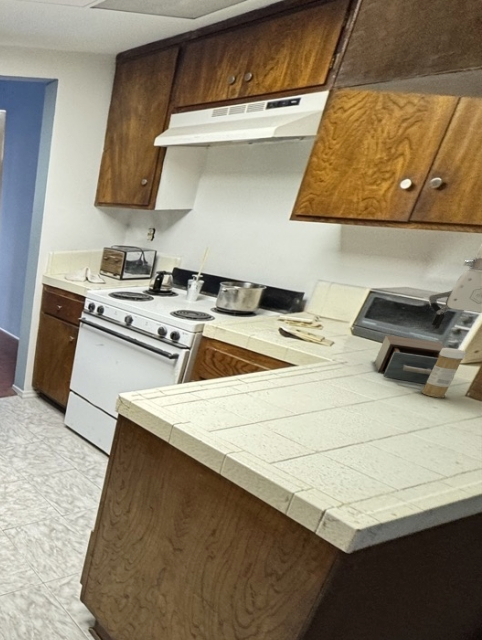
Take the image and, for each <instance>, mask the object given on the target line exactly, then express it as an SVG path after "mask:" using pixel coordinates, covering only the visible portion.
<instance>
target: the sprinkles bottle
mask: <svg viewBox="0 0 482 640" xmlns="http://www.w3.org/2000/svg"><path fill="white" fill-rule="evenodd" d="M466 354H467V351H465V350H462V349H458V348H452V347H445V348H442V349H441V351H440V353H439V358H438V360H437V362H436V364H435V366H434V368H433V370H432V372H431V374H430V376H429V378H428V380H427V383H426V384H425V385H424V388H423V390H422V391H421V393H422V394H423V395H425V396H427V397H428V396H429V397H432V398H444V397H445V396H446V393H447V391H448V389H449V388H450V386H451V384H452V382H453V379H454V377H455V375H456V373H457V371H458V369H459V367H460V364H461V363H462V361H463V360H464V358H465V357H466Z"/></svg>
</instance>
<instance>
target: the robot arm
mask: <svg viewBox="0 0 482 640" xmlns="http://www.w3.org/2000/svg"><path fill="white" fill-rule="evenodd" d="M462 265H463V266H466V267H469V269H465V270H464V271H463V272H462V273H461V275H460V276H459V277H458V279H457V280H456V282H455V283H454V285H453V287H452V289H451V290H449V291H444V292H441V293H436V294H430V295H428V297H427V298H428V302H429V306H430V308H431V309H432V310H433V311H434V312H435V314H434V317H433V318H432V321H431V323H430V325H431V326H432V329H434V330H439V328H440V326H441V324H442V323H443V320H444V319H445V316H446V315H445V313H447V312H449V311H450V310H459V311H467V312H468V311H469V312H475V313H476V312H477V313H482V243H481V244H480V246H479V248H478V250H477V252H476V255H475V257H473V258H472V259H469V260H468V259H465V260H464V261H463V264H462ZM445 298H446V299H445ZM439 299H445V304H444V305H441V306H439V305H438V302H437V300H439Z"/></svg>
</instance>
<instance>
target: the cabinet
mask: <svg viewBox="0 0 482 640" xmlns="http://www.w3.org/2000/svg"><path fill="white" fill-rule="evenodd" d="M392 347H399V348H406V349H413V350H420V351H427V352H434V353H440V351H441V349H442V348H446V347H445V346H444V345H443V343H442V342H441V341H434V340H428V339H427V340H426V339H419V338H412V337H411V338H410V337H403V336H398V335H397V336H395V335H389V334H386V335H385V337H384V339H383V342H382V344H381V346H380V349H379V351H378V352H377V355H376V358H375V359H374V364H375V367H376V370H377V372H378V373H380V374H385V368H384V366H385V363H386V361H387V359H388V357H389V354H390V352H391V350H392Z"/></svg>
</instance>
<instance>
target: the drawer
mask: <svg viewBox="0 0 482 640" xmlns="http://www.w3.org/2000/svg"><path fill="white" fill-rule="evenodd" d="M438 358H439V353H434V352H427V351H420V350H413V349H406V348H399V347H392V350H391V352H390V354H389V357H388V359H387V361H386V363H385V366H384V368H385V373H383V377H384V378H390V379H396V380H403V381H408V382H413V383H418V384H419V383H421V384H425V385H426V383H427V380H428V378H429V376H430V374H431V372H432V370H433V368H434V366H435V364H436V362H437V360H438Z"/></svg>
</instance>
